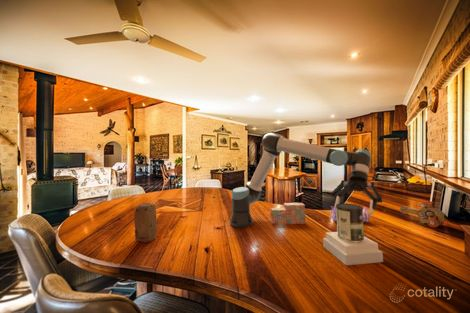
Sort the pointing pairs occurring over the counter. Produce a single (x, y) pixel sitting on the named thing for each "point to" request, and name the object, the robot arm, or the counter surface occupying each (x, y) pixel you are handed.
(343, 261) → the tower base
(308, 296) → the counter surface
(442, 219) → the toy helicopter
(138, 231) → the block
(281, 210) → the stack of blocks
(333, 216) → the pencil case
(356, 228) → the coffee can
